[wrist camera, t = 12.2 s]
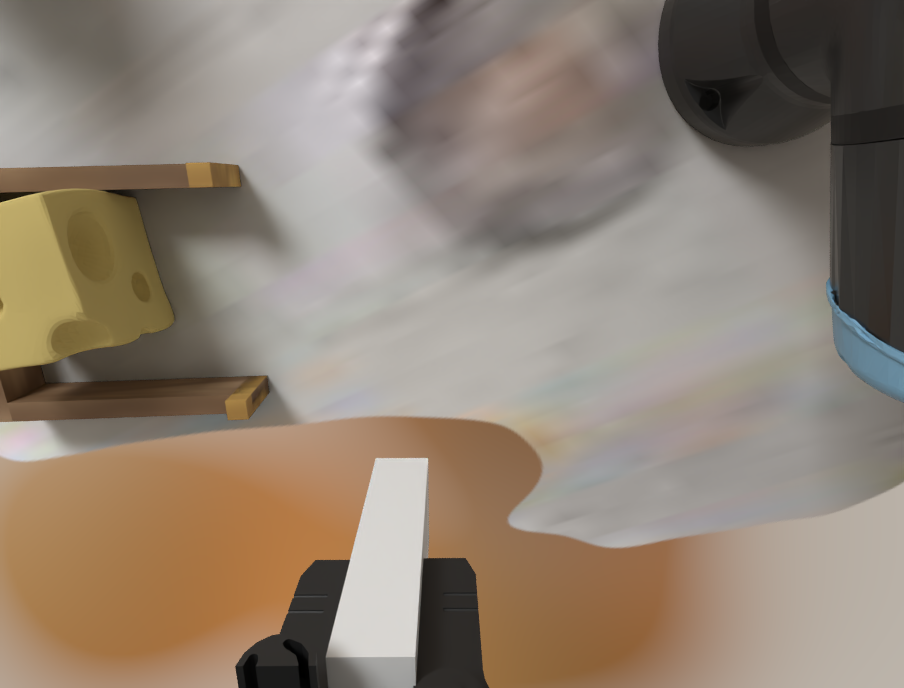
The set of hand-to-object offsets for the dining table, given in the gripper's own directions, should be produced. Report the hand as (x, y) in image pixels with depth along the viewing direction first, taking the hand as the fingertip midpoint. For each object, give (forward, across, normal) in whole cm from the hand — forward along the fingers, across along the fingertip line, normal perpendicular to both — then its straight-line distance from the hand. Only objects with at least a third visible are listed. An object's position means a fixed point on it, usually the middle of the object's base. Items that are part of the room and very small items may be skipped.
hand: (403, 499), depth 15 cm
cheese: (+27, -26, +2) cm, 38 cm away
